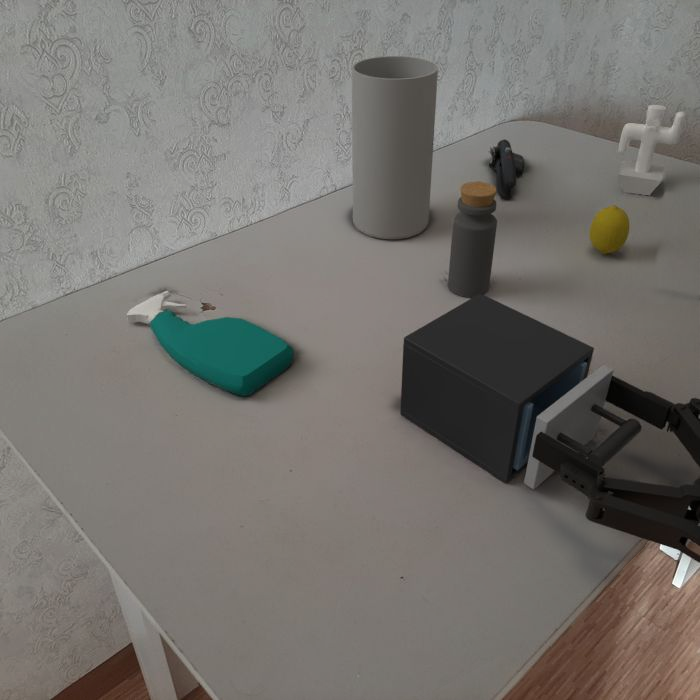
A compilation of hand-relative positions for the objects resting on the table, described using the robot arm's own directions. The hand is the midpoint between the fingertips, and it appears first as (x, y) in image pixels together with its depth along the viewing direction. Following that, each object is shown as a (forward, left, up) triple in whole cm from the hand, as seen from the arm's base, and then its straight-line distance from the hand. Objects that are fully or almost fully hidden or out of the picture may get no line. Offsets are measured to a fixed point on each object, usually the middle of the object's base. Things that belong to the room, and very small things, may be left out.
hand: (572, 414), depth 70 cm
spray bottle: (+46, -5, -7) cm, 47 cm away
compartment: (+3, -2, -6) cm, 7 cm away
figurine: (-2, -75, -7) cm, 75 cm away
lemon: (+1, -48, -7) cm, 49 cm away
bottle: (+18, -31, -7) cm, 36 cm away
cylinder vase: (+35, -46, -7) cm, 58 cm away
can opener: (+21, -70, -7) cm, 73 cm away
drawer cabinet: (+9, -4, -7) cm, 12 cm away
